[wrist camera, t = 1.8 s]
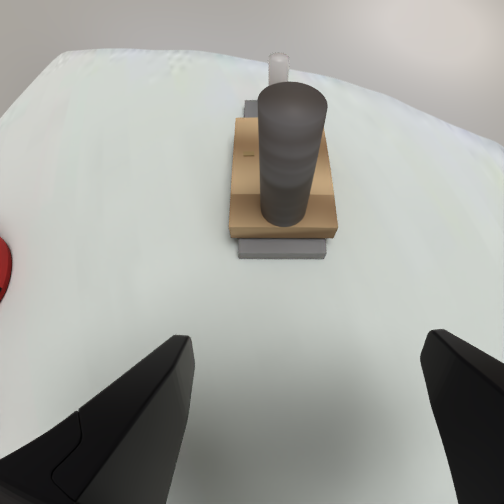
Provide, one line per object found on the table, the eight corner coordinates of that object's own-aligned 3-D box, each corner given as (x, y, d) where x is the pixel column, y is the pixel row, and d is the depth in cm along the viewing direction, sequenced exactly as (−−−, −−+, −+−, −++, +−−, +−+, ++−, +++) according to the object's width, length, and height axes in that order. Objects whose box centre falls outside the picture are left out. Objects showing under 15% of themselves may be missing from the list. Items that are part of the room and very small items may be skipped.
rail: (324, 258, 22) (346, 209, 16) (239, 258, 23) (229, 208, 16) (307, 108, 28) (314, 50, 22) (245, 108, 28) (241, 48, 22)
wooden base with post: (333, 238, 21) (378, 130, 12) (231, 237, 22) (207, 126, 12) (319, 132, 25) (337, 24, 16) (237, 131, 26) (225, 22, 16)
